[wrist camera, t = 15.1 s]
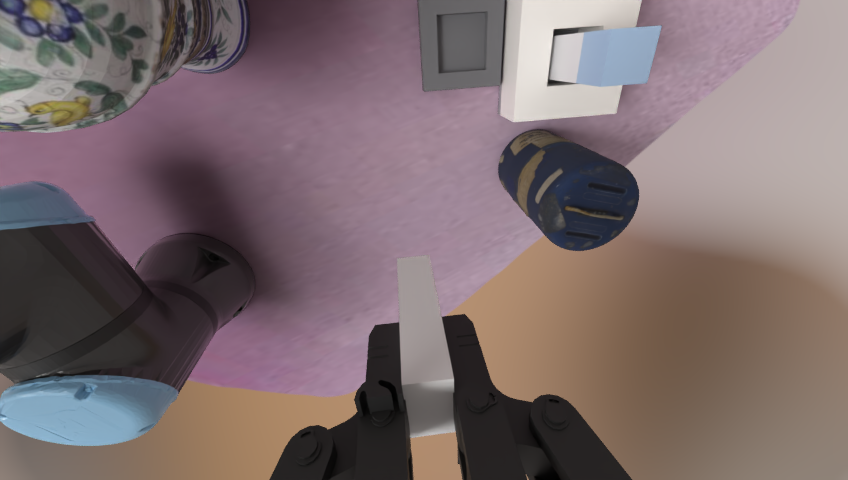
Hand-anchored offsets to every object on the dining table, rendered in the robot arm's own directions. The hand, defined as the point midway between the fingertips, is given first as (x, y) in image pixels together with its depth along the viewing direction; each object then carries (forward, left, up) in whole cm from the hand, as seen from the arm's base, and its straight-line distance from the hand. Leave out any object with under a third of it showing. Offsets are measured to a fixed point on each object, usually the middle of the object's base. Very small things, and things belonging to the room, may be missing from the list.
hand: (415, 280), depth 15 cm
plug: (+19, +8, -29) cm, 36 cm away
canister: (+18, -5, -31) cm, 36 cm away
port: (+19, +8, -30) cm, 37 cm away
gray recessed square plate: (+8, +10, -30) cm, 33 cm away
